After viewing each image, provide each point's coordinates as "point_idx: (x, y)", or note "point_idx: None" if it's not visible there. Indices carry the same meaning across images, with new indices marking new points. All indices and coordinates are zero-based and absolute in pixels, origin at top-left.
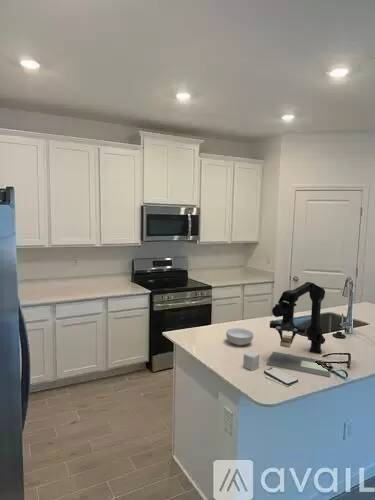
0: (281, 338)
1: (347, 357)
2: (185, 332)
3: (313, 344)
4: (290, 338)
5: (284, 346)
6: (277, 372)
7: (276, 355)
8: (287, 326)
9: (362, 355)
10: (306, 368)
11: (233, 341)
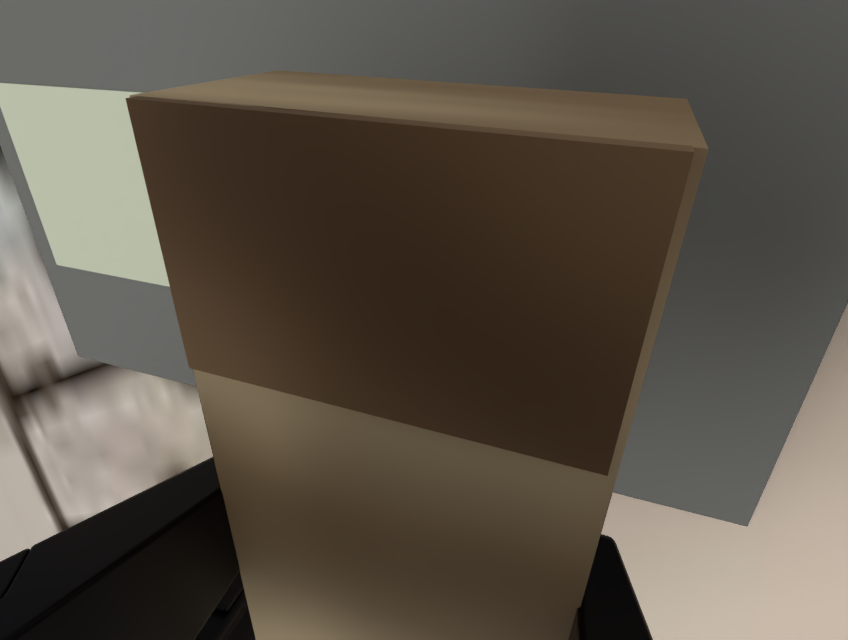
0: (607, 621)
1: (48, 480)
2: None
3: (220, 619)
4: (290, 618)
5: (471, 86)
6: None
7: (695, 401)
8: None
9: (4, 520)
10: (207, 51)
11: None
